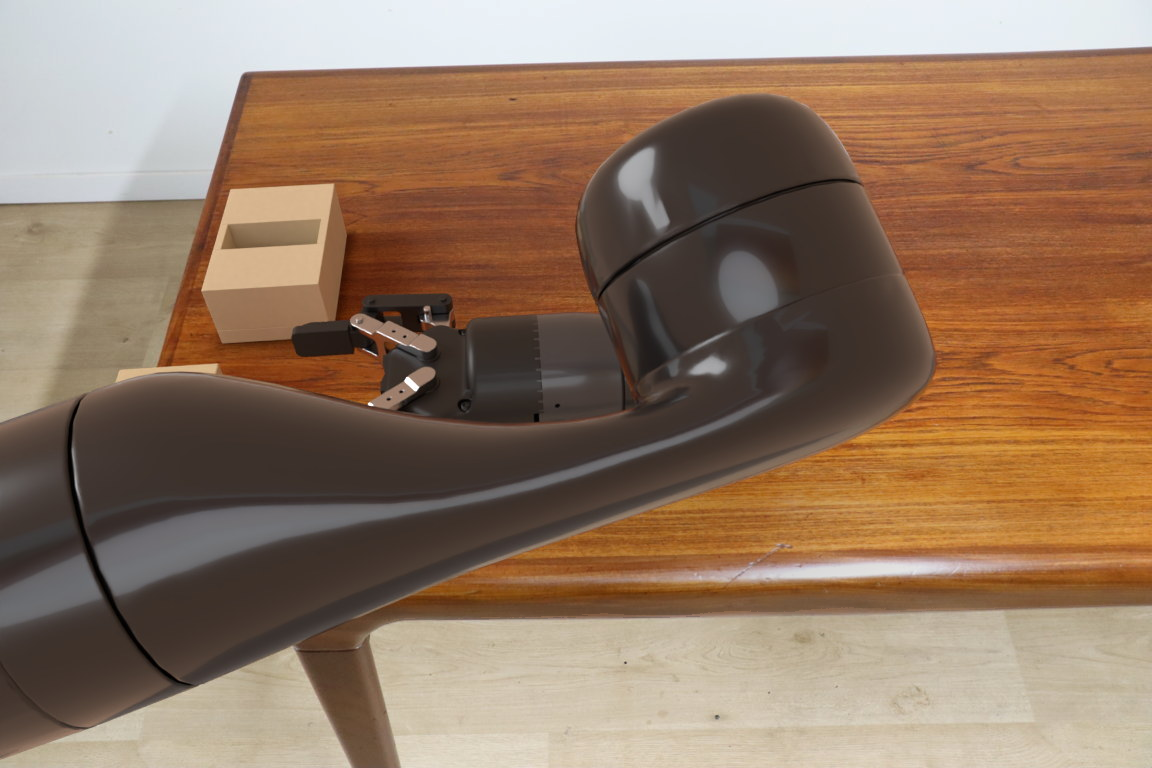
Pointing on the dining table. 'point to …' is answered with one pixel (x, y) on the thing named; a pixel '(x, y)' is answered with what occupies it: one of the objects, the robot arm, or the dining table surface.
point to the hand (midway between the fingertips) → (285, 390)
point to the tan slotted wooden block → (275, 262)
